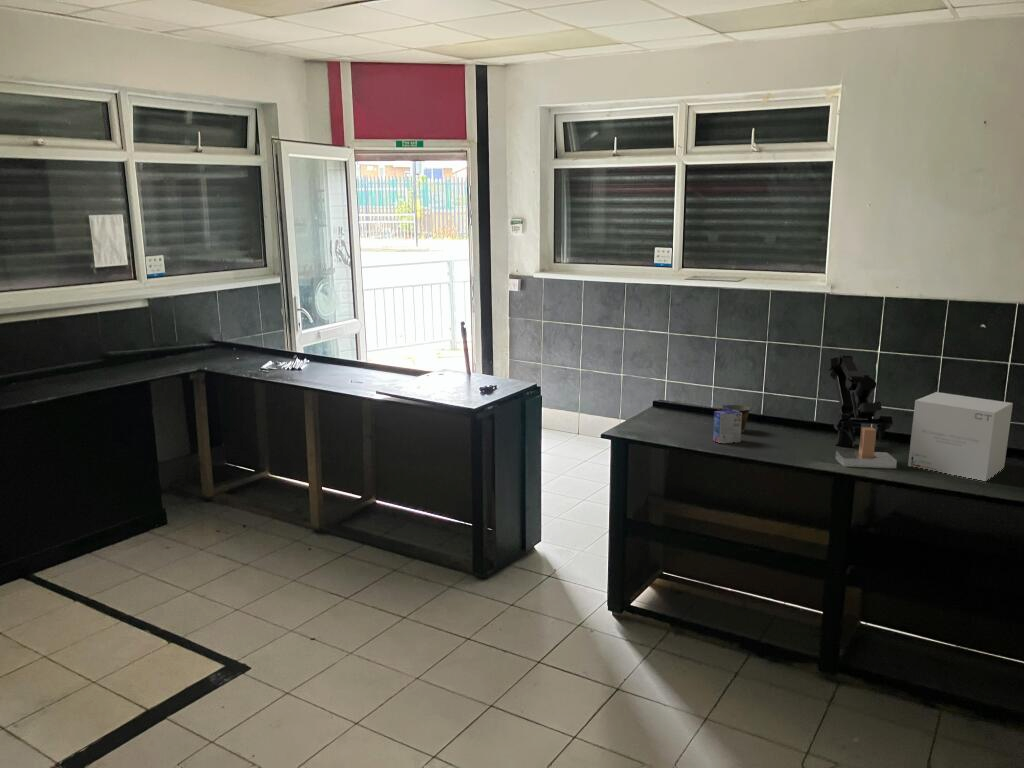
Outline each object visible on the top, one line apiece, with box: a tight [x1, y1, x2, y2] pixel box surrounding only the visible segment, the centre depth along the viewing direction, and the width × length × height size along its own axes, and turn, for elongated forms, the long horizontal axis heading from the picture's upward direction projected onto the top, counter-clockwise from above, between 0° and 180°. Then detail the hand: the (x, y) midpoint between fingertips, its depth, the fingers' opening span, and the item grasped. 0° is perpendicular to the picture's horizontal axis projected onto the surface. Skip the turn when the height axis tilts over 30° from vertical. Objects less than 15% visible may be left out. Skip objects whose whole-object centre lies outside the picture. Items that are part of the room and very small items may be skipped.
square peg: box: [858, 426, 877, 458], centre depth 288 cm, size 4×4×13 cm
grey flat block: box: [835, 450, 898, 470], centre depth 289 cm, size 10×18×3 cm, turn 84°
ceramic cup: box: [716, 404, 750, 433], centre depth 333 cm, size 13×10×10 cm
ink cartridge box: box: [712, 404, 742, 444], centre depth 316 cm, size 10×6×14 cm, turn 106°
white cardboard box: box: [907, 391, 1014, 482], centre depth 283 cm, size 25×21×24 cm
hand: (867, 441), depth 287 cm, fingers open, 9 cm apart
